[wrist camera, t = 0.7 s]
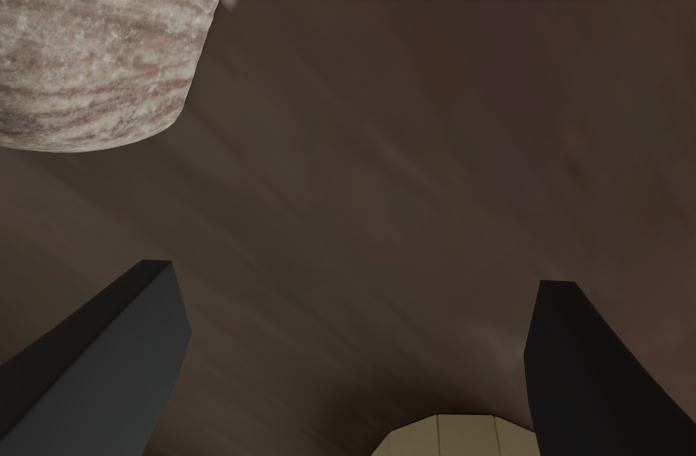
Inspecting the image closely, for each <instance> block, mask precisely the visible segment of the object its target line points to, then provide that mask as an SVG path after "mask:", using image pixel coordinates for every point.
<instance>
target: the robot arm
mask: <svg viewBox="0 0 696 456" xmlns="http://www.w3.org/2000/svg"><path fill="white" fill-rule="evenodd" d="M190 336H191V329H190V326H189V322H188V318H187V315H186V311H185V307H184V304H183V300H182V296H181V293H180V289H179V285H178V282H177V278H176V274H175V271H174V267H173V263H172V261H163V260H144V259H143V260H142V261H140V262H139V263H137V264H136V265H135V266H133V267H132V268H131V269H129V270H128V271H127V272H125V273H124V274H123V275H121V276H120V277H119V278H118V279H116V280H115V281H114V282H112V283H111V284H110V285H109V286H107V287H106V288H105V289H104V290H102V291H101V292H100V293H99V294H97V295H96V296H95V297H93V298H92V299H91V300H90V301H88V302H87V303H86V304H84V305H83V306H82V307H81V308H79V309H78V310H77V311H75V312H74V313H73V314H71V315H70V316H69V317H68V318H66V319H65V320H64V321H62V322H61V323H60V324H58V325H57V326H56V327H54V328H53V329H52V330H50V331H49V332H48V333H46V334H45V335H43V336H42V337H40V338H39V339H38V340H36V341H35V342H33V343H32V344H31V345H29V346H28V347H26V348H25V349H24V350H22V351H21V352H19V353H18V354H17V355H15V356H14V357H12V358H11V359H10V360H8V361H7V362H5V363H4V364H2V365H1V366H0V456H142V453H143V451H144V449H145V447H146V445H147V443H148V441H149V439H150V436H151V434H152V432H153V430H154V428H155V426H156V424H157V421H158V419H159V417H160V415H161V413H162V411H163V409H164V406H165V404H166V402H167V400H168V398H169V396H170V393H171V391H172V389H173V387H174V384H175V382H176V380H177V378H178V375H179V372H180V369H181V366H182V363H183V359H184V356H185V353H186V350H187V346H188V343H189V339H190ZM524 364H525V375H526V385H527V393H528V402H529V408H530V412H531V417H532V421H533V426H534V430H535V435H536V439H537V444H538V448H539V452H540V456H696V424H695V423H694V422H693V421H692V419H691V418H690V417H689V416H688V415H687V414H686V413H685V412H684V411H683V410H682V409H681V408H680V407H679V406H678V405H677V404H676V403H675V402H674V400H673V399H672V398H671V397H670V396H669V395H668V394H667V393H666V392H665V391H664V390H663V388H662V387H661V386H660V385H659V384H658V383H657V382H656V381H655V380H654V378H653V377H652V376H651V375H650V374H649V373H648V371H647V370H646V369H645V368H644V367H643V366H642V364H641V363H640V362H639V361H638V360H637V359H636V357H635V356H634V355H633V354H632V353H631V352H630V350H629V349H628V348H627V347H626V346H625V344H624V343H623V342H622V341H621V340H620V338H619V337H618V336H617V335H616V333H615V332H614V331H613V330H612V328H611V327H610V326H609V325H608V323H607V322H606V321H605V320H604V318H603V317H602V316H601V314H600V313H599V312H598V311H597V309H596V308H595V307H594V305H593V304H592V303H591V302H590V300H589V299H588V298H587V296H586V295H585V294H584V292H583V291H582V290H581V289H580V287H579V286H578V285H577V284H576V283H575V282H568V281H549V280H541V281H540V285H539V290H538V294H537V298H536V303H535V307H534V312H533V316H532V320H531V325H530V329H529V333H528V338H527V342H526V346H525V351H524Z"/></svg>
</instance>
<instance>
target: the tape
mask: <svg viewBox="0 0 696 456" xmlns="http://www.w3.org/2000/svg"><path fill="white" fill-rule="evenodd" d="M371 456H540V452H539V448H538V444H537V439H536V435H535V433H534V432H531V431H529V430H527V429H524V428H522V427H520V426H517V425H515V424H513V423H510V422H508V421H506V420H503V419H501V418H499V417H496V416H495V417H494V418H493V416H492V415H445V414H439V415H438V416H437V415H433V416H431V417H428V418H426V419H423V420H420V421H418V422H415V423H412V424H410V425H407V426H405V427H402V428H399V429H397V430H394V431H391V432H390V433H389V434H388V435H387V436H386V438H385V439H384V440H383V441H382V443H381V444H380V445H379V446H378V447H377V449H376V450H375V451H374V452H373V454H372V455H371Z"/></svg>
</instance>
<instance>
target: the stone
mask: <svg viewBox="0 0 696 456" xmlns="http://www.w3.org/2000/svg"><path fill="white" fill-rule="evenodd" d="M218 2H219V0H0V146H3V147H7V148H14V149H23V150H34V151H45V152H56V153H73V152H87V151H95V150H102V149H108V148H113V147H117V146H121V145H125V144H129V143H133V142H137V141H140V140H143V139H145V138H148V137H151V136H153V135H155V134H157V133H159V132H161V131H163V130H165V129H166V128H168V127H169V126H170V125H172V124H173V123H174V122H175V120H176V119H177V117H178V116H179V114H180V112H181V111H182V109H183V107H184V102H185V99H186V96H187V93H188V91H189V88H190V85H191V82H192V79H193V77H194V73H195V69H196V66H197V62H198V59H199V57H200V54H201V51H202V48H203V45H204V42H205V39H206V36H207V33H208V29H209V27H210V25H211V22H212V20H213V14H214V11H215V9H216V7H217V5H218Z"/></svg>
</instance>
